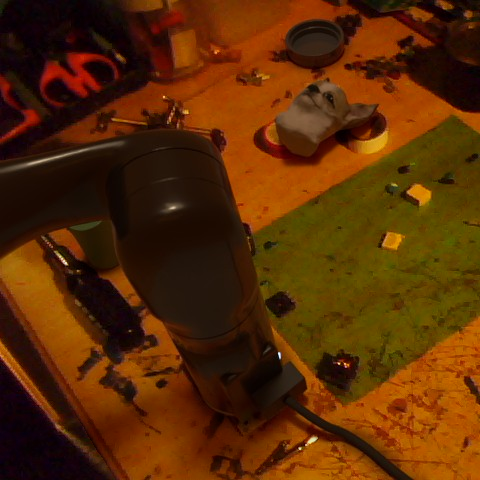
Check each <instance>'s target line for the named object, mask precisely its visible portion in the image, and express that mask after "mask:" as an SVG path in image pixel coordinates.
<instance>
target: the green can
mask: <svg viewBox="0 0 480 480" xmlns="http://www.w3.org/2000/svg"><path fill="white" fill-rule="evenodd" d="M67 229H69V231H70V233H71V234H72V236H73V237H74V239H75V240H76V242H77V244H78V245H79V247H80V248H81V250H82V251H83V253H84V254H85V256H86V258H87V260H88V261H89V263H90V265H92V266H93V267H94V268H96V269H99V270H109V269H112V268H115V267H117V266H118V265H120V264H119V261H118V258H117V255H116V252H115V247H114V240H113V233H112V226H111V220H103V221H97V222H91V223H86V224H81V225H76V226H72V227H68V228H67Z"/></svg>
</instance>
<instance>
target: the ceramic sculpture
mask: <svg viewBox="0 0 480 480" xmlns="http://www.w3.org/2000/svg"><path fill="white" fill-rule="evenodd" d="M379 106H380V103H374V104H366V103H361V102H355V103H349V101H348V97H347V94H346V92H345V90H344V89H342V88H341V87H340V86H339V85H337V84H336V83H334V82H331V80H330V77H326V78H325V79H323V80H315V81H313V82H312V83H310V84H308V85H307V86H306V87H305V88H304V89H302V90H301V91H300V92H299V93H298V94H297V95H296V96H295V97H294V99H293V100H292V102H291V103H290V104H289V106H288V108H287V109H286V110H285V111H282V112H279V113H278V114H276V115H275V116H274V117H275V118H274V119H273V121H274V125H275V131H276V134H277V138H278V139H279V141H280V142H282V144H283V145H284V146H285V148H286V150H288V151H289V152H290V153H292V154H293V155H298V156H303V157H306V158H307V157H311V156H313V154H315V152H316V151H317V150H318V147H319V144H320V143H321V142H323V141H324V140H327V139H328V138H329V137H331V136H332V135H334V134H335V133H337V132H339V131H344V130H348V129H353V128H358V127H361V126H362V125H365V123H367V122H368V121H369V120H370V119H371V118H372V117H373V116H374V114H375V112H376V110H377V109H378V108H379Z"/></svg>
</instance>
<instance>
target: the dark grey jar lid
mask: <svg viewBox="0 0 480 480" xmlns="http://www.w3.org/2000/svg"><path fill="white" fill-rule="evenodd" d="M284 40H285V41H284V42H285V48H286V54H287V56H288V57H289V59H290V60H291V61H293V62H294V63H295V64H297V65H299V66H302V67H304V68H313V69H314V68H323V67H326V66H329V65H332V64H333V63H334V62H336V61H337V60H338V59H339V58H340V57H341V56H342V54H343V52H344V50H345V46H346V45H345V33H344V30H343V29H342V27H341V26H340V25H338V24H337V22H334V21H332V20H329V19H323V18H311V19H306V20H304V21H300V22H298V23H297V24H294V25H293V26H292V27H291V28H289V30H288V31H287V32H286V35H285V39H284Z"/></svg>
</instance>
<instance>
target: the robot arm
mask: <svg viewBox="0 0 480 480" xmlns="http://www.w3.org/2000/svg"><path fill="white" fill-rule="evenodd" d="M226 167H227V166H226V164H225V161H224V159H223V156H222V154H221V152H220V150H219V148H218V147H217V145H216V144H215V143H214V142H212V141H211V140H210V139H209V138H207V137H205V136H204V135H202V134H200V133H198V132H195V131H192V130H191V131H190V130H187V129H182V128H181V129H180V128H155V129H147V130H146V129H145V130H140V131H135V132H129V133H125V134H119V135H116V136H111V137H107V138H102V139H98V140H94V141H89V142H85V143H81V144H77V145H73V146H68V147H64V148H59V149H54V150H51V151H46V152H42V153H36V154H32V155H26V156H22V157H16V158H9V159H4V160H0V261H2V260H3V259H5V258H6V257H7V256H9V255H11V254H12V253H14V252H15V251H17V250H19V249H20V248H21V247H24V246H25V245H26V244H28V243H30V242H32V241H34V240H36V239H38V238H41V237H43V236H46V235H49V234H51V233H54V232H57V231H61V230H63V229H69V228H68V227H72V226H76V225H81V224H86V223H91V222H97V221H103V220H111V226H112V233H113V240H114V247H115V252H116V255H117V258H118V261H119V264H118V265H119V266H120V268H121V270H122V272H123V274H124V276H125V278H126V279H127V281H128V282H129V284H130V286H131V287H132V289H133V291H134V293H135V294H136V295H137V297H138V298H139V300H140V301H141V303H142V304H143V306H144V307H145V309H146V311H148V313H149V314H150V315H151V316H152V317H153V318H154V319H156V320H157V321H159V322H161V323H162V324H163V326H164V328H165V330H166V332H167V334H168V336H169V338H170V340H171V342H172V343H173V346H174V347H175V349H176V350H177V352H178V354H179V356H180V358H181V360H182V362H183V364H184V365H185V368H186V369H187V371H188V373H189V374H190V375H189V381H190V382H191V384H193V383H194V384H195V385H196V387H197V389H198V392H199V394H200V396H201V398H202V400H203V401H204V403H205V404H206V405H207V406H208V407H209V408H210V409H212V410H213V411H214V412H216V413H218V414H220V415H223V416H225V417H226V416H227V417H233V418H234V417H235V418H236V419H237V420H238V421H239V422H240V423H241V424H244V423H246V422H248V420H250V419H251V418H252V417H253V416H255V415H256V414H258V413H261V414H262V416H263V417H264V418H265V419H266V421H269V420H271V419H272V418H273V417H274V416H275V415H277V414H278V413H279V412H281V411H282V410H283V409H285V408H286V407H289V408H290V409H291V410H293V411H294V412H295V413H297V414H298V415H300V416H301V417H302V418H303V419H305V420H306V421H308V422H309V423H311V424H313V425H314V426H316V427H317V428H319V429H321V430H323V431H325V432H327V433H330V434H332V435H335V436H337V437H339V438H342V439H344V440H345V441H347V442H349V443H351V444H352V445H354V446H355V447H357V448H358V449H359V450H361V452H363V453H365V454H366V455H367V456H369V458H370V459H373V461H374V462H376V463H377V464H378V465H380V467H382V469H384V470H385V471H387V472H388V473H389V474H390V475H391V476H392V477H394V478H395V479H396V480H415V479H414V478H413V477H411V476H410V475H409V474H408V473H406V472H405V471H403V470H402V469H401V468H399V467H398V466H397V465H395V464H394V463H393V462H391V461H390V460H389V459H388V458H387V457H386V456H385V455H383V453H381V452H380V451H379V450H377V449H376V448H375V447H374V446H373V445H371V444H370V443H368V442H367V441H365V440H364V439H363V438H361V437H360V436H358V435H357V434H355V433H353V432H352V431H350V430H349V429H347V428H344V427H342V426H339V425H336V424H334V423H332V422H329V421H327V420H326V419H324V418H322V417H320V416H319V415H318V414H316V413H315V412H314V411H311V410H310V409H309V408H308V407H306V406H304V405H303V404H301V403H300V402H299V401H298V400H296V399H297V398H298V397H300V396H301V395H302V394H304V393H305V392H306V391H307V390H308V389H309V388H308V383H307V380H306V377H305V375H304V374H303V373H302V372H301V371H300V370H299V369H298V368H297V366H296V365H295V364H294V363H293V361H291V360H288V361H287V362H286V363H283V359H282V356H281V352H279V349H278V346H277V342H276V339H275V335H274V332H273V331H274V330H273V327H272V325H271V320H270V317H269V314H268V311H267V307H266V304H265V300H264V295H263V293H262V289H261V285H260V281H259V276H258V273H257V272H258V271H257V269H256V266H255V262H254V258H253V254H252V252H251V248H250V244H249V241H248V237H247V233H246V230H245V227H244V223H243V221H242V216H241V213H240V210H239V207H238V204H237V200H236V198H235V194H234V191H233V187H232V184H231V181H230V177H229V174H228V170H227V168H226Z"/></svg>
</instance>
